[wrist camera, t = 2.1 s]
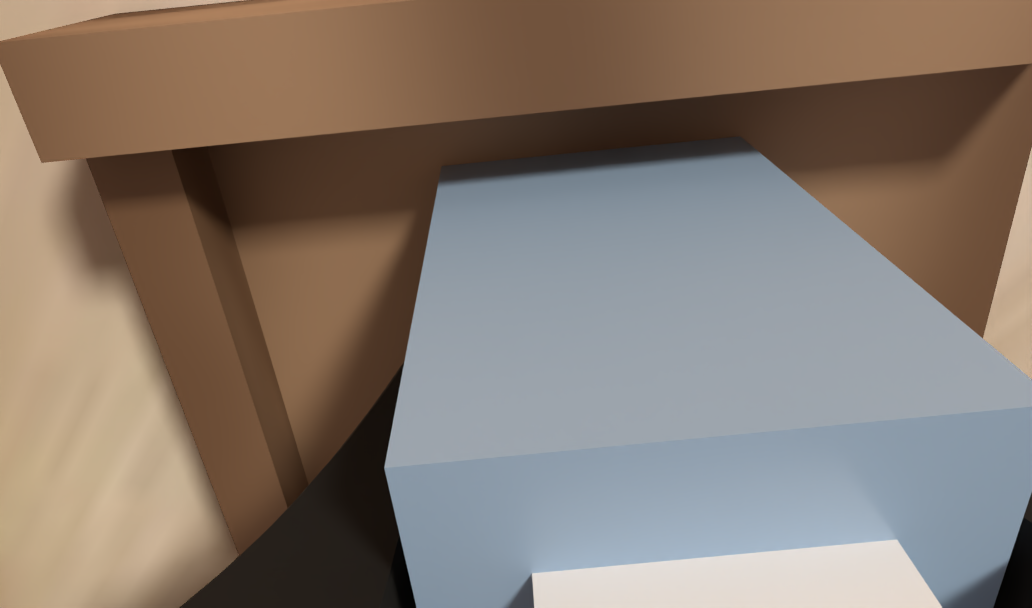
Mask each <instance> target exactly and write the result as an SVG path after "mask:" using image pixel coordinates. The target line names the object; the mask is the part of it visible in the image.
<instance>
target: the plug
mask: <svg viewBox="0 0 1032 608" xmlns="http://www.w3.org/2000/svg"><path fill="white" fill-rule="evenodd" d="M384 469H385V474H386V478H387V482H388V487H389V491H390V495H391V499H392V504H393V508H394V512H395V517H396V521H397V525H398V530H399V534H400V538H401V543H402V547H403V551H404V556H405V560H406V564H407V569H408V573H409V577H410V582H411V586H412V590H413V595H414V599H415V603H416V608H993V607H994V604H995V601H996V598H997V595H998V592H999V589H1000V586H1001V583H1002V580H1003V577H1004V574H1005V571H1006V568H1007V565H1008V562H1009V559H1010V556H1011V553H1012V550H1013V547H1014V544H1015V541H1016V538H1017V535H1018V532H1019V529H1020V526H1021V523H1022V520H1023V517H1024V514H1025V511H1026V508H1027V505H1028V502H1029V499H1030V496H1031V493H1032V379H1031V378H1029V377H1028V376H1027V375H1026V374H1025V373H1023V372H1022V371H1021V370H1020V369H1019V368H1017V367H1016V366H1015V365H1014V364H1013V363H1011V362H1010V361H1009V360H1008V359H1007V358H1005V357H1004V356H1003V355H1002V354H1001V353H999V352H998V351H997V350H996V349H995V348H993V347H992V346H991V345H990V344H989V343H987V342H986V341H985V340H984V339H983V338H981V337H980V336H979V335H978V334H977V333H975V332H974V331H973V330H972V329H971V328H969V327H968V326H967V325H966V324H965V323H963V322H962V321H961V320H960V319H959V318H957V317H956V316H955V315H954V314H953V313H951V312H950V311H949V310H948V309H947V308H945V307H944V306H943V305H942V304H941V303H939V302H938V301H937V300H936V299H935V298H933V297H932V296H931V295H930V294H929V293H928V292H926V291H925V290H924V289H923V288H922V287H920V286H919V285H918V284H917V283H916V282H914V281H913V280H912V279H911V278H910V277H908V276H907V275H906V274H905V273H904V272H902V271H901V270H900V269H899V268H898V267H896V266H895V265H894V264H893V263H892V262H890V261H889V260H888V259H887V258H886V257H884V256H883V255H882V254H881V253H880V252H878V251H877V250H876V249H875V248H874V247H872V246H871V245H870V244H869V243H868V242H866V241H865V240H864V239H863V238H862V237H860V236H859V235H858V234H857V233H856V232H854V231H853V230H852V229H851V228H850V227H848V226H847V225H846V224H845V223H844V222H842V221H841V220H840V219H839V218H838V217H836V216H835V215H834V214H833V213H832V212H830V211H829V210H828V209H827V208H826V207H824V206H823V205H822V204H821V203H820V202H818V201H817V200H816V199H815V198H814V197H812V196H811V195H810V194H809V193H808V192H806V191H805V190H804V189H803V188H802V187H800V186H799V185H798V184H797V183H796V182H794V181H793V180H792V179H791V178H790V177H788V176H787V175H786V174H785V173H784V172H782V171H781V170H780V169H779V168H778V167H776V166H775V165H774V164H773V163H772V162H770V161H769V160H768V159H767V158H766V157H764V156H763V155H762V154H761V153H760V152H758V151H757V150H756V149H755V148H754V147H752V146H751V145H750V144H749V143H748V142H746V141H745V140H744V139H743V138H742V137H740V136H739V137H729V138H719V139H709V140H699V141H689V142H679V143H669V144H659V145H649V146H639V147H628V148H618V149H608V150H598V151H588V152H578V153H568V154H558V155H548V156H538V157H528V158H518V159H508V160H498V161H488V162H478V163H468V164H458V165H448V166H442V167H441V172H440V177H439V182H438V188H437V193H436V198H435V204H434V209H433V214H432V219H431V225H430V230H429V235H428V240H427V246H426V251H425V256H424V261H423V267H422V272H421V277H420V282H419V288H418V293H417V298H416V303H415V309H414V314H413V319H412V325H411V330H410V335H409V340H408V346H407V351H406V356H405V361H404V367H403V372H402V377H401V382H400V388H399V393H398V398H397V403H396V409H395V414H394V419H393V424H392V430H391V435H390V440H389V446H388V451H387V456H386V461H385V467H384Z"/></svg>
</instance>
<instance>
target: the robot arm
mask: <svg viewBox="0 0 1032 608" xmlns="http://www.w3.org/2000/svg"><path fill="white" fill-rule="evenodd" d="M403 367H404V363H403V364H402V365H401V367H400V368H399V370H398V371H397V372H396V374H395V375H394V377H393V378H392V380H391V381H390V382H389V384H388V385H387V387H386V388H385V389H384V391H383V392H382V394H381V395H380V396H379V398H378V399H377V401H376V402H375V403H374V405H373V406H372V407H371V409H370V410H369V411H368V413H367V414H366V415H365V417H364V418H363V419H362V421H361V422H360V423H359V424H358V426H357V427H356V428H355V430H354V431H353V432H352V433H351V435H350V436H349V437H348V439H347V440H346V441H345V442H344V444H343V445H342V446H341V448H340V449H339V450H338V451H337V453H336V454H335V455H334V456H333V457H332V459H331V460H330V461H329V462H328V463H327V464H326V466H325V467H324V468H323V469H322V470H321V471H320V472H319V474H318V475H317V476H316V477H315V478H314V479H313V480H312V482H311V483H310V484H309V485H308V486H307V487H306V488H305V490H304V491H303V492H302V493H301V494H300V495H299V496H298V498H297V499H296V500H295V501H294V502H293V503H292V504H291V505H290V506H289V508H288V509H287V510H286V511H285V512H284V513H283V514H282V515H281V516H280V517H279V518H278V519H277V520H276V521H275V522H274V523H273V524H272V525H271V526H270V527H269V528H268V529H267V530H266V531H265V532H264V533H263V534H262V535H261V536H260V537H259V538H258V539H257V540H256V541H255V542H254V543H253V544H252V545H251V546H249V547H248V548H247V549H246V550H245V551H244V552H243V553H242V554H241V555H240V556H239V557H238V558H237V559H236V560H235V561H234V562H233V563H231V564H230V565H229V566H228V567H227V568H226V569H225V570H224V571H223V572H221V573H220V574H219V575H218V576H217V577H216V578H215V579H213V580H212V581H211V582H210V583H209V584H207V585H206V586H205V587H204V588H203V589H201V590H200V591H199V592H198V593H197V594H195V595H194V596H193V597H192V598H190V599H189V600H188V601H187V602H186V603H184V604H183V605H182V606H181V607H180V608H416V603H415V599H414V595H413V590H412V586H411V582H410V577H409V573H408V569H407V564H406V560H405V556H404V551H403V547H402V543H401V538H400V534H399V530H398V525H397V521H396V517H395V512H394V508H393V504H392V499H391V495H390V491H389V487H388V482H387V478H386V474H385V469H384V467H385V461H386V456H387V451H388V446H389V440H390V435H391V430H392V424H393V419H394V414H395V409H396V403H397V398H398V393H399V388H400V382H401V377H402V372H403ZM993 608H1032V493H1031V496H1030V499H1029V502H1028V505H1027V508H1026V511H1025V514H1024V517H1023V520H1022V523H1021V526H1020V529H1019V532H1018V535H1017V538H1016V541H1015V544H1014V547H1013V550H1012V553H1011V556H1010V559H1009V562H1008V565H1007V568H1006V571H1005V574H1004V577H1003V580H1002V583H1001V586H1000V589H999V592H998V595H997V598H996V601H995V604H994V607H993Z"/></svg>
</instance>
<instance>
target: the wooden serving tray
mask: <svg viewBox="0 0 1032 608" xmlns="http://www.w3.org/2000/svg"><path fill="white" fill-rule="evenodd" d="M0 64H1V67H2V69H3V71H4V74H5V76H6V79H7V81H8V83H9V86H10V88H11V91H12V93H13V95H14V98H15V100H16V103H17V105H18V107H19V110H20V112H21V115H22V117H23V119H24V122H25V124H26V127H27V129H28V131H29V134H30V136H31V139H32V141H33V143H34V146H35V148H36V150H37V153H38V155H39V158H40V160H41V162H42V163H44V162H54V161H64V160H74V159H84V158H86V159H87V162H88V165H89V167H90V170H91V172H92V175H93V178H94V180H95V183H96V185H97V188H98V190H99V193H100V196H101V198H102V201H103V203H104V206H105V209H106V211H107V214H108V216H109V219H110V222H111V224H112V227H113V229H114V232H115V235H116V237H117V240H118V242H119V245H120V248H121V250H122V253H123V255H124V258H125V261H126V263H127V266H128V268H129V271H130V274H131V276H132V279H133V281H134V284H135V286H136V289H137V292H138V294H139V297H140V299H141V302H142V305H143V307H144V310H145V312H146V315H147V318H148V320H149V323H150V325H151V328H152V331H153V333H154V336H155V338H156V341H157V344H158V346H159V349H160V351H161V354H162V357H163V359H164V362H165V364H166V367H167V370H168V372H169V375H170V377H171V380H172V383H173V385H174V388H175V390H176V393H177V395H178V398H179V401H180V403H181V406H182V408H183V411H184V414H185V416H186V419H187V421H188V424H189V427H190V429H191V432H192V434H193V437H194V440H195V442H196V445H197V447H198V450H199V453H200V455H201V458H202V460H203V463H204V466H205V468H206V471H207V473H208V476H209V479H210V481H211V484H212V486H213V489H214V492H215V494H216V497H217V499H218V502H219V504H220V507H221V510H222V512H223V515H224V517H225V520H226V523H227V525H228V528H229V530H230V533H231V536H232V538H233V541H234V543H235V546H236V549H237V551H238V554H239V556H240V555H241V554H242V553H243V552H244V551H245V550H246V549H247V548H248V547H249V546H251V545H252V544H253V543H254V542H255V541H256V540H257V539H258V538H259V537H260V536H261V535H262V534H263V533H264V532H265V531H266V530H267V529H268V528H269V527H270V526H271V525H272V524H273V523H274V522H275V521H276V520H277V519H278V518H279V517H280V516H281V515H282V514H283V513H284V512H285V511H286V510H287V509H288V508H289V506H290V505H291V504H292V503H293V502H294V501H295V500H296V499H297V498H298V496H299V495H300V494H301V493H302V492H303V491H304V490H305V488H306V487H307V486H308V485H309V484H310V483H311V482H312V480H313V479H314V478H315V477H316V476H317V475H318V474H319V472H320V471H321V470H322V469H323V468H324V467H325V466H326V464H327V463H328V462H329V461H330V460H331V459H332V457H333V456H334V455H335V454H336V453H337V451H338V450H339V449H340V448H341V446H342V445H343V444H344V442H345V441H346V440H347V439H348V437H349V436H350V435H351V433H352V432H353V431H354V430H355V428H356V427H357V426H358V424H359V423H360V422H361V421H362V419H363V418H364V417H365V415H366V414H367V413H368V411H369V410H370V409H371V407H372V406H373V405H374V403H375V402H376V401H377V399H378V398H379V396H380V395H381V394H382V392H383V391H384V389H385V388H386V387H387V385H388V384H389V382H390V381H391V380H392V378H393V377H394V375H395V374H396V372H397V371H398V370H399V368H400V367H401V365H402V364H403V363H404V361H405V356H406V351H407V346H408V340H409V335H410V330H411V325H412V319H413V314H414V309H415V303H416V298H417V293H418V288H419V282H420V277H421V272H422V267H423V261H424V256H425V251H426V246H427V240H428V235H429V230H430V225H431V219H432V214H433V209H434V204H435V198H436V193H437V188H438V182H439V177H440V172H441V167H442V166H448V165H458V164H468V163H478V162H488V161H498V160H508V159H518V158H528V157H538V156H548V155H558V154H568V153H578V152H588V151H598V150H608V149H618V148H628V147H639V146H649V145H659V144H669V143H679V142H689V141H699V140H709V139H719V138H729V137H739V136H740V137H742V138H743V139H744V140H745V141H746V142H748V143H749V144H750V145H751V146H752V147H754V148H755V149H756V150H757V151H758V152H760V153H761V154H762V155H763V156H764V157H766V158H767V159H768V160H769V161H770V162H772V163H773V164H774V165H775V166H776V167H778V168H779V169H780V170H781V171H782V172H784V173H785V174H786V175H787V176H788V177H790V178H791V179H792V180H793V181H794V182H796V183H797V184H798V185H799V186H800V187H802V188H803V189H804V190H805V191H806V192H808V193H809V194H810V195H811V196H812V197H814V198H815V199H816V200H817V201H818V202H820V203H821V204H822V205H823V206H824V207H826V208H827V209H828V210H829V211H830V212H832V213H833V214H834V215H835V216H836V217H838V218H839V219H840V220H841V221H842V222H844V223H845V224H846V225H847V226H848V227H850V228H851V229H852V230H853V231H854V232H856V233H857V234H858V235H859V236H860V237H862V238H863V239H864V240H865V241H866V242H868V243H869V244H870V245H871V246H872V247H874V248H875V249H876V250H877V251H878V252H880V253H881V254H882V255H883V256H884V257H886V258H887V259H888V260H889V261H890V262H892V263H893V264H894V265H895V266H896V267H898V268H899V269H900V270H901V271H902V272H904V273H905V274H906V275H907V276H908V277H910V278H911V279H912V280H913V281H914V282H916V283H917V284H918V285H919V286H920V287H922V288H923V289H924V290H925V291H926V292H928V293H929V294H930V295H931V296H932V297H933V298H935V299H936V300H937V301H938V302H939V303H941V304H942V305H943V306H944V307H945V308H947V309H948V310H949V311H950V312H951V313H953V314H954V315H955V316H956V317H957V318H959V319H960V320H961V321H962V322H963V323H965V324H966V325H967V326H968V327H969V328H971V329H972V330H973V331H974V332H975V333H977V334H978V335H979V336H980V337H981V338H983V335H984V331H985V327H986V323H987V319H988V315H989V312H990V308H991V304H992V300H993V296H994V292H995V288H996V284H997V280H998V276H999V272H1000V268H1001V265H1002V261H1003V257H1004V253H1005V249H1006V245H1007V241H1008V237H1009V233H1010V229H1011V225H1012V221H1013V218H1014V214H1015V210H1016V206H1017V202H1018V198H1019V194H1020V190H1021V186H1022V182H1023V178H1024V175H1025V171H1026V167H1027V163H1028V159H1029V155H1030V151H1031V147H1032V0H246V1H236V2H226V3H217V4H207V5H197V6H187V7H178V8H168V9H158V10H148V11H139V12H129V13H119V14H113V15H108V16H104V17H100V18H96V19H92V20H87V21H83V22H79V23H75V24H70V25H66V26H62V27H58V28H54V29H49V30H45V31H41V32H37V33H33V34H28V35H24V36H20V37H16V38H12V39H7V40H3V41H0Z"/></svg>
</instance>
